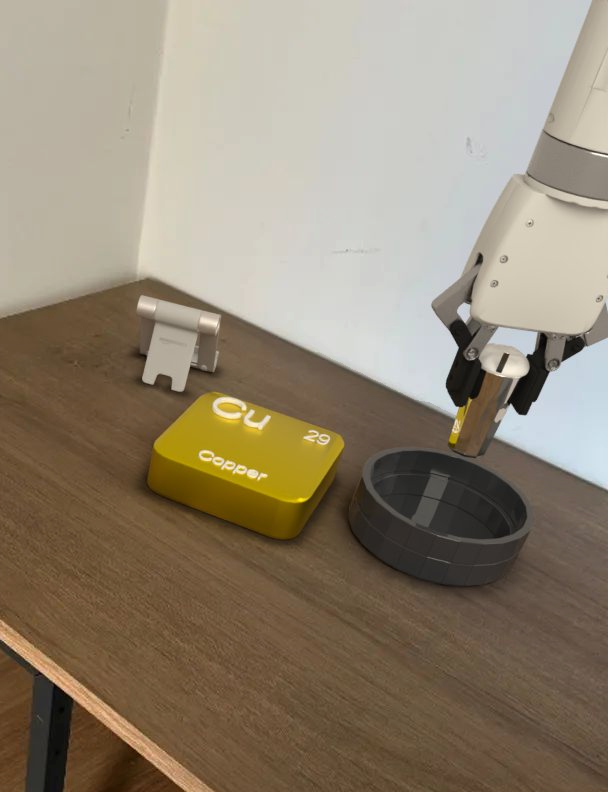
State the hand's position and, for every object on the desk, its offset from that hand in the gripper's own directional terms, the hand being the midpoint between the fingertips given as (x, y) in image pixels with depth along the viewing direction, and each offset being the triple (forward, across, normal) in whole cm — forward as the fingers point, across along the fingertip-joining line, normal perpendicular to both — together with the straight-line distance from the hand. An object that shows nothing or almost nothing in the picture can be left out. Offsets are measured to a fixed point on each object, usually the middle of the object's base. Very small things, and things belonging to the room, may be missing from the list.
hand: (486, 401), depth 80 cm
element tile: (+14, +17, -6) cm, 23 cm away
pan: (+14, 0, 0) cm, 14 cm away
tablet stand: (+14, +23, -27) cm, 38 cm away
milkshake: (+5, 0, 0) cm, 5 cm away
